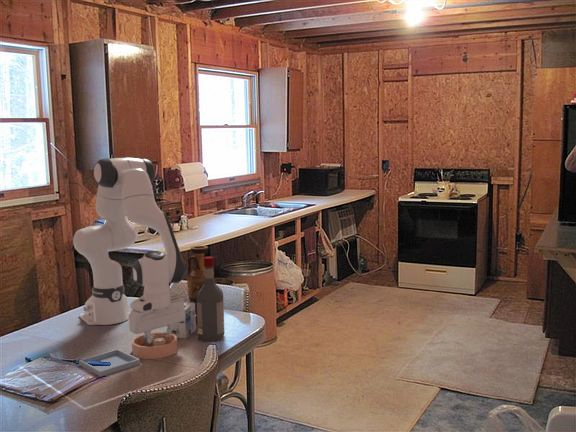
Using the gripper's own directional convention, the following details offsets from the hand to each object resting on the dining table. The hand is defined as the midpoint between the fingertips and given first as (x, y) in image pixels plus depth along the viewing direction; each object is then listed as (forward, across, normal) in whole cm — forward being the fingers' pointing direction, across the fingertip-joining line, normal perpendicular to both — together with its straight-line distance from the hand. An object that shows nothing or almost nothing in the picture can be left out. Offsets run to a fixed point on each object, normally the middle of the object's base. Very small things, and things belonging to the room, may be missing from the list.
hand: (159, 339), depth 203 cm
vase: (+5, -32, -19) cm, 38 cm away
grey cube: (+4, 0, -6) cm, 7 cm away
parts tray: (+5, +17, -3) cm, 18 cm away
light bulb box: (+5, -18, -12) cm, 22 cm away
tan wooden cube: (+4, 0, 0) cm, 4 cm away
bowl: (+5, 0, -3) cm, 6 cm away
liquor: (+5, -22, 0) cm, 23 cm away
